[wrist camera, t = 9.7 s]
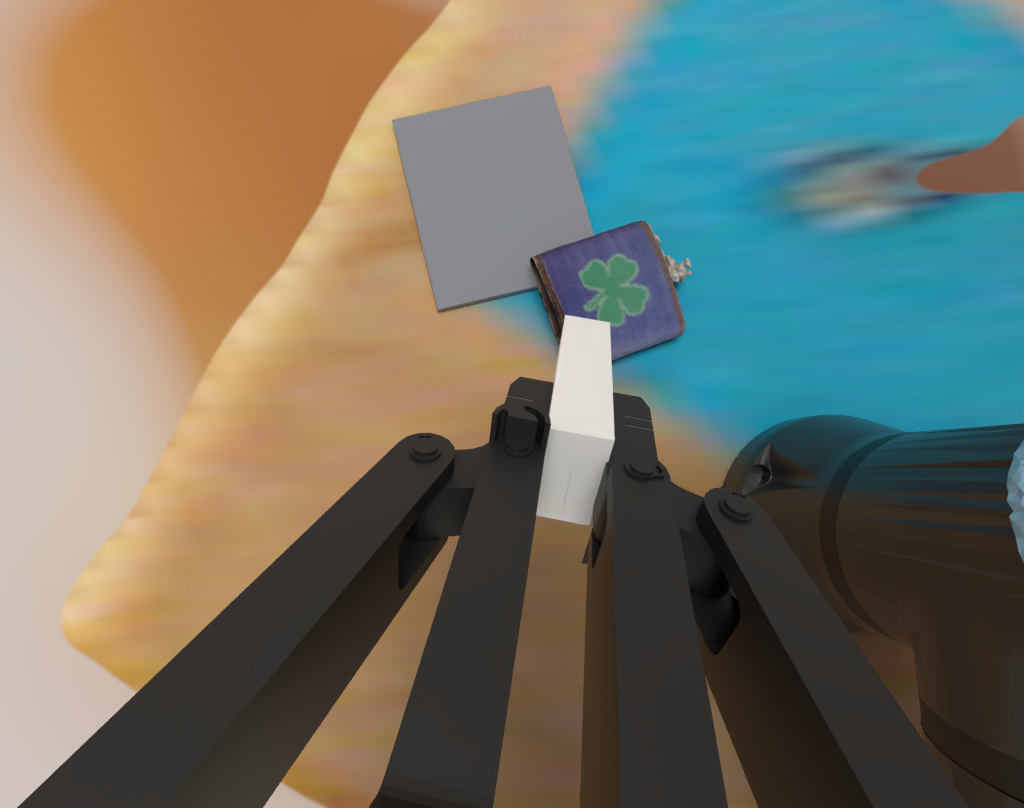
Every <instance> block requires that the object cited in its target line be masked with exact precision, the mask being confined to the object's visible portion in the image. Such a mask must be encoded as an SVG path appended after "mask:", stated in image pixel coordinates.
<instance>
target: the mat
mask: <svg viewBox="0 0 1024 808" xmlns="http://www.w3.org/2000/svg"><path fill="white" fill-rule="evenodd" d="M392 122H393V126H394V130H395V134H396V138H397V142H398V147H399V151H400V155H401V159H402V163H403V167H404V172H405V176H406V180H407V184H408V188H409V192H410V197H411V201H412V205H413V209H414V213H415V217H416V222H417V226H418V230H419V234H420V238H421V242H422V247H423V251H424V255H425V259H426V263H427V267H428V271H429V276H430V280H431V284H432V288H433V292H434V296H435V301H436V305H437V309H438V312H442V311H446V310H450V309H454V308H458V307H463V306H467V305H471V304H475V303H480V302H484V301H488V300H492V299H496V298H501V297H505V296H509V295H513V294H517V293H522V292H526V291H530V290H534V289H539V287H538V284H537V281H536V280H535V278H534V276H533V272H532V268H531V264H530V257H534V256H536V255H538V254H541V253H543V252H546V251H548V250H551V249H554V248H556V247H560V246H562V245H566V244H569V243H572V242H576V241H579V240H582V239H585V238H587V237H591V236H594V233H593V230H592V226H591V223H590V220H589V216H588V213H587V209H586V206H585V202H584V199H583V195H582V192H581V188H580V185H579V181H578V178H577V174H576V171H575V168H574V164H573V161H572V157H571V154H570V150H569V147H568V143H567V140H566V136H565V133H564V129H563V126H562V122H561V119H560V116H559V112H558V109H557V105H556V102H555V98H554V95H553V91H552V88H551V86H546V87H541V88H537V89H532V90H528V91H523V92H518V93H514V94H509V95H505V96H500V97H495V98H491V99H486V100H482V101H477V102H472V103H468V104H463V105H459V106H454V107H449V108H445V109H440V110H436V111H431V112H426V113H422V114H417V115H413V116H408V117H403V118H399V119H394V120H392Z"/></svg>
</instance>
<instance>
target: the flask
mask: <svg viewBox="0 0 1024 808" xmlns="http://www.w3.org/2000/svg"><path fill="white" fill-rule="evenodd" d="M657 241H658V242H659V243H660V245H661V242H660V239H659V237H658V236H657V235H654V233H653V231H652V229H651V226H650V225H649V224H648V223H647V222H644V221H639V222H633V223H630V224H627V225H624V226H621V227H618V228H615V229H612V230H609V231H606V232H603V233H600V234H597V235H594V236H591V237H587V238H585V239H582V240H579V241H576V242H572V243H569V244H566V245H562V246H560V247H556V248H554V249H551V250H548V251H546V252H543V253H541V254H538V255H536V256H534V257H530V264H531V268H532V272H533V276H534V278H535V280H536V281H537V284H538V287H539V291H540V293H541V295H542V298H543V303H544V306H546V308H547V310H548V314H549V319H550V322H551V325H552V328H553V330H554V333H555V334H556V338H557V340H558V342H559V345H560V340H561V335H562V330H563V324H564V319H565V315H569V316H575V317H581V318H587V319H593V320H599V321H604V322H610V336H611V361H613V360H616V359H619V358H621V357H624V356H626V355H628V354H631V353H634V352H636V351H639V350H642V349H645V348H648V347H650V346H653V345H656V344H659V343H662V342H664V341H667V340H671V339H674V338H677V337H679V336H680V335H682V334H683V332H684V331H685V320H684V316H683V312H682V309H681V307H680V302H679V299H678V296H677V292H676V289H675V287H674V284H673V282H675V281H676V282H684V278H685V277H686V276H687V274H689V275H691V274H692V273H691V271H689V272H688V273H687V269H686V266H687V267H688V268H691V263H690V261H689V259H688V258H685V261H686V266H685V262H684V261H683V262H682V263H680V264H676V263H675V260H674V259H673V258H671V257H670V256H665V254H664V252H663V251H662V250H661V248H660V246H659V244H658V242H657Z"/></svg>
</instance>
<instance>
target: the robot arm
mask: <svg viewBox="0 0 1024 808" xmlns="http://www.w3.org/2000/svg"><path fill="white" fill-rule="evenodd" d="M651 420H652V419H651V413H650V408H649V407H648V406H647V404H646V403H645V402H644V400H643V399H642V398H641V397H636V396H631V395H625V394H620V393H614V392H613V386H612V361H611V336H610V322H604V321H599V320H593V319H587V318H581V317H575V316H569V315H565V319H564V324H563V330H562V335H561V340H560V345H559V350H558V356H557V361H556V366H555V371H554V377H553V382H546V381H541V380H535V379H530V378H524V377H519V378H518V379H517V380H516V381H514V382H513V383H512V384H511V385H510V388H509V391H508V394H507V398H506V401H505V403H504V404H502V405H500V406H499V407H497V408H496V409H495V411H494V412H493V414H492V423H491V431H490V440H489V443H487V444H486V445H484V446H482V447H478V448H475V449H467V450H454V446H453V445H452V444H451V442H450V441H449V440H448V439H446V438H444V437H442V436H440V435H436V434H432V433H417V434H414V435H410V436H407V437H406V438H404V439H403V440H401V441H400V442H399V443H397V444H396V445H395V446H394V447H393V448H392V449H391V450H390V451H389V452H388V453H387V454H386V455H385V456H384V457H383V458H382V459H381V460H380V461H379V462H378V463H377V464H376V465H375V466H373V467H372V468H371V469H370V470H369V471H368V472H367V473H366V474H365V475H364V476H363V477H362V478H361V479H360V480H359V481H358V482H357V483H356V484H355V485H354V486H353V487H352V488H350V489H349V490H348V491H347V492H346V493H345V494H344V495H343V496H342V497H341V498H340V499H339V500H338V501H337V502H336V503H335V504H334V505H333V506H332V507H331V508H330V509H329V510H328V511H326V512H325V513H324V514H323V515H322V516H321V517H320V518H319V519H318V520H317V521H316V522H315V523H314V524H313V525H312V526H311V527H310V528H309V529H308V530H307V531H306V532H305V533H303V534H302V535H301V536H300V537H299V538H298V539H297V540H296V541H295V542H294V543H293V544H292V545H291V546H290V547H289V548H288V549H287V550H286V551H285V552H284V553H283V554H282V555H281V556H279V557H278V558H277V559H276V560H275V561H274V562H273V563H272V564H271V565H270V566H269V567H268V568H267V569H266V570H265V571H264V572H263V573H262V574H261V575H260V576H259V577H258V578H257V579H255V580H254V581H253V582H252V583H251V584H250V585H249V586H248V587H247V588H246V589H245V590H244V591H243V592H242V593H241V594H240V595H239V596H238V597H237V598H236V599H235V600H234V601H232V602H231V603H230V604H229V605H228V606H227V607H226V608H225V609H224V610H223V611H222V612H221V613H220V614H219V615H218V616H217V617H216V618H215V619H214V620H213V621H212V622H211V623H210V624H208V625H207V626H206V627H205V628H204V629H203V630H202V631H201V632H200V633H199V634H198V635H197V636H196V637H195V638H194V639H193V640H192V641H191V642H190V643H189V644H188V645H187V646H186V647H184V648H183V649H182V650H181V651H180V652H179V653H178V654H177V655H176V656H175V657H174V658H173V659H172V660H171V661H170V662H169V663H168V664H167V665H166V666H165V667H164V668H163V669H161V670H160V671H159V672H158V673H157V674H156V675H155V676H154V677H153V678H152V679H151V680H150V681H149V682H148V683H147V684H146V685H145V686H144V687H143V688H142V689H141V690H140V691H139V692H137V693H136V694H135V696H133V697H132V698H131V699H130V700H129V701H128V702H127V703H126V704H125V705H124V706H123V707H122V708H121V709H120V710H119V711H118V712H117V713H116V714H115V715H113V716H112V717H111V718H110V719H109V720H108V721H107V722H106V723H105V724H104V725H103V726H102V727H101V728H100V729H99V730H98V731H97V732H96V733H95V734H94V735H93V736H92V737H90V738H89V739H88V740H87V741H86V742H85V743H84V744H83V745H82V746H81V747H80V748H79V749H78V750H77V751H76V752H75V753H74V754H73V755H72V756H71V757H70V758H69V759H68V760H67V761H65V763H63V764H62V765H61V766H60V767H59V768H58V769H57V770H56V771H55V772H54V773H53V774H52V775H51V776H50V777H49V778H48V779H47V780H46V781H45V782H44V783H42V785H40V787H38V788H37V789H36V790H35V791H34V792H33V793H32V794H31V795H30V796H29V797H28V798H27V799H26V800H25V801H24V802H23V803H22V804H21V805H20V806H18V807H17V808H263V807H264V805H265V804H266V802H267V801H268V799H269V798H270V796H271V795H272V794H273V792H274V791H275V789H276V788H277V786H278V785H279V783H280V782H281V781H282V779H283V778H284V776H285V775H286V773H287V772H288V770H289V769H290V768H291V766H292V765H293V763H294V762H295V760H296V759H297V757H298V756H299V755H300V753H301V752H302V750H303V749H304V747H305V746H306V744H307V743H308V742H309V740H310V739H311V737H312V736H313V734H314V733H315V731H316V730H317V728H318V727H319V726H320V724H321V723H322V721H323V720H324V718H325V717H326V715H327V714H328V713H329V711H330V710H331V708H332V707H333V705H334V704H335V702H336V701H337V700H338V698H339V697H340V695H341V694H342V692H343V691H344V689H345V688H346V687H347V685H348V684H349V682H350V681H351V679H352V678H353V676H354V675H355V674H356V672H357V671H358V669H359V668H360V666H361V665H362V663H363V662H364V660H365V659H366V658H367V656H368V655H369V653H370V652H371V650H372V649H373V647H374V646H375V645H376V643H377V642H378V640H379V639H380V637H381V636H382V634H383V633H384V632H385V630H386V629H387V627H388V626H389V624H390V623H391V621H392V620H393V619H394V617H395V616H396V614H397V613H398V611H399V610H400V608H401V607H402V606H403V604H404V603H405V601H406V600H407V598H408V597H409V595H410V594H411V592H412V591H413V590H414V588H415V587H416V585H417V584H418V582H419V581H420V579H421V578H422V577H423V575H424V574H425V572H426V571H427V569H428V568H429V566H430V565H431V564H432V562H433V561H434V559H435V558H436V556H437V555H438V553H439V552H440V551H441V549H442V548H443V546H444V545H445V543H446V542H447V539H448V537H449V536H459V535H460V537H459V540H458V543H457V547H456V550H455V553H454V556H453V559H452V563H451V566H450V569H449V572H448V575H447V579H446V582H445V585H444V588H443V591H442V595H441V598H440V601H439V604H438V607H437V611H436V614H435V617H434V620H433V623H432V626H431V630H430V633H429V636H428V639H427V642H426V646H425V649H424V652H423V655H422V658H421V662H420V665H419V668H418V671H417V674H416V678H415V681H414V684H413V687H412V690H411V694H410V697H409V700H408V703H407V706H406V710H405V713H404V716H403V719H402V722H401V726H400V729H399V732H398V735H397V738H396V741H395V745H394V748H393V751H392V754H391V757H390V761H389V764H388V767H387V770H386V773H385V776H384V779H383V782H382V785H381V787H380V790H379V792H378V794H377V796H376V797H375V799H374V800H373V802H372V803H371V805H370V806H369V808H493V802H494V795H495V788H496V782H497V775H498V768H499V761H500V755H501V748H502V741H503V735H504V728H505V721H506V714H507V708H508V701H509V694H510V687H511V681H512V674H513V667H514V660H515V654H516V647H517V640H518V634H519V627H520V620H521V613H522V607H523V600H524V593H525V586H526V580H527V573H528V566H529V559H530V553H531V546H532V539H533V533H534V526H535V519H536V515H537V516H542V517H547V518H552V519H557V520H562V521H567V522H572V523H577V524H582V525H587V526H589V525H590V522H591V518H592V515H593V528H592V532H591V535H590V538H589V541H588V545H587V548H586V551H585V555H584V558H583V561H582V563H585V564H587V561H588V566H587V598H586V631H585V663H584V695H583V727H582V759H581V791H580V808H728V804H727V799H726V793H725V787H724V782H723V776H722V770H721V765H720V759H719V753H718V747H717V742H716V736H715V730H714V725H713V719H712V713H711V708H710V702H709V696H708V691H707V685H706V679H705V676H706V678H707V681H708V683H709V686H710V688H711V691H712V693H713V695H714V698H715V700H716V703H717V705H718V708H719V710H720V713H721V715H722V718H723V720H724V723H725V725H726V728H727V730H728V733H729V735H730V738H731V740H732V743H733V745H734V748H735V750H736V753H737V755H738V758H739V760H740V763H741V765H742V768H743V770H744V773H745V775H746V778H747V780H748V782H749V785H750V787H751V790H752V792H753V795H754V797H755V800H756V802H757V805H758V807H759V808H1024V423H1023V424H1010V425H998V426H985V427H972V428H959V429H946V430H933V431H920V432H911V433H908V432H905V431H902V430H898V429H895V428H892V427H888V426H885V425H882V424H878V423H875V422H872V421H868V420H865V419H861V418H857V417H851V416H843V415H819V416H812V417H806V418H800V419H795V420H790V421H787V422H784V423H781V424H778V425H776V426H774V427H772V428H770V429H768V430H766V431H765V432H763V433H762V434H760V435H759V436H757V437H756V438H755V439H754V440H753V441H751V442H750V443H749V444H748V445H747V446H746V447H745V449H744V450H743V451H742V452H741V453H740V455H739V456H738V457H737V459H736V460H735V462H734V464H733V465H732V467H731V469H730V471H729V473H728V476H727V478H726V481H725V484H724V488H723V487H722V488H714V489H711V490H710V491H708V492H707V493H706V494H705V497H704V498H703V497H701V496H699V495H696V494H694V493H691V492H689V491H687V490H685V489H683V488H681V487H679V486H677V485H675V484H674V483H673V482H671V480H670V475H669V473H668V471H667V469H666V468H665V467H664V466H663V465H662V464H661V463H660V462H659V461H658V458H657V451H656V445H655V439H654V432H653V426H652V422H651ZM855 641H890V642H899V643H901V644H904V645H906V646H908V647H910V648H913V651H914V659H915V668H916V676H917V684H918V692H919V701H920V709H921V728H922V736H923V739H922V738H921V737H920V735H919V734H918V732H917V731H916V729H915V728H914V726H913V725H912V724H911V722H910V721H909V719H908V718H907V716H906V715H905V713H904V712H903V710H902V709H901V708H900V706H899V705H898V703H897V702H896V700H895V699H894V697H893V696H892V694H891V693H890V692H889V690H888V689H887V687H886V686H885V684H884V683H883V681H882V680H881V679H880V677H879V676H878V674H877V673H876V671H875V670H874V668H873V667H872V665H871V664H870V663H869V661H868V660H867V658H866V657H865V655H864V654H863V652H862V651H861V649H860V648H859V647H858V645H857V644H856V642H855ZM704 673H705V674H704Z"/></svg>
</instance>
